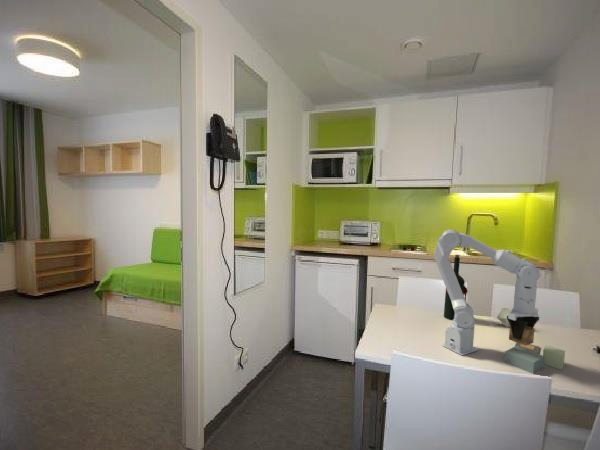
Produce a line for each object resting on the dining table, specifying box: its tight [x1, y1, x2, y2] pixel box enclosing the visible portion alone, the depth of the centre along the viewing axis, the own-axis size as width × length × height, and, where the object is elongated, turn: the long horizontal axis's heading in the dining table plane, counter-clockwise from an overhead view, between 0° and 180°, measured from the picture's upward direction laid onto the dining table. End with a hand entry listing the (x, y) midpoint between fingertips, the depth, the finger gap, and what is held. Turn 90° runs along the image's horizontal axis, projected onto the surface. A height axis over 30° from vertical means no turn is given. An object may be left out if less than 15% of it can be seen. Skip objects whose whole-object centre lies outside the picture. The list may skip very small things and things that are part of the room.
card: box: [514, 342, 541, 355], centre depth 110 cm, size 7×7×1 cm
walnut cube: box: [508, 326, 535, 346], centre depth 100 cm, size 5×5×5 cm
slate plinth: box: [504, 345, 544, 374], centre depth 98 cm, size 8×8×4 cm
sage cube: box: [542, 344, 566, 370], centre depth 99 cm, size 5×5×5 cm
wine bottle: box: [443, 254, 468, 321], centre depth 136 cm, size 8×10×30 cm
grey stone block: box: [496, 306, 513, 328], centre depth 130 cm, size 8×9×10 cm
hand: (521, 337), depth 100 cm, fingers closed on walnut cube, 5 cm apart
